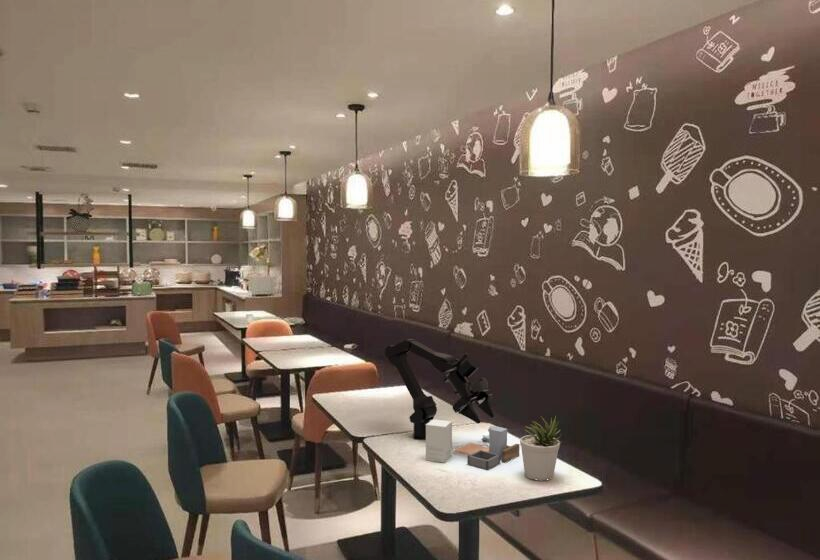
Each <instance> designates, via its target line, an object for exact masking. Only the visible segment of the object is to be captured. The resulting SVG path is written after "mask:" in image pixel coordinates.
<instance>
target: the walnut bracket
mask: <svg viewBox="0 0 820 560" xmlns="http://www.w3.org/2000/svg"><path fill="white" fill-rule="evenodd" d="M520 446H521V445H520V444H519V443H515V444H513V445H508V444H507V449H505V450H503V451H502V460H501V462H502V463H504V464H506V463H508V462H509V460H510V461H511V459H512V460H513V459H515V458H517V457H519V456H520ZM507 461H508V462H507ZM505 462H506V463H505Z"/></svg>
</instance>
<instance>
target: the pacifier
mask: <svg viewBox="0 0 820 560" xmlns="http://www.w3.org/2000/svg"><path fill="white" fill-rule="evenodd" d="M493 427H496V426H495V425H490V426H489V427H488V430H487V431H488V433H489V429H491V428H493ZM481 440H482V441H486V442H488V443H489V434H488V435H482V438H481Z"/></svg>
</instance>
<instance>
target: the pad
mask: <svg viewBox="0 0 820 560" xmlns="http://www.w3.org/2000/svg"><path fill="white" fill-rule="evenodd" d="M479 450H483V451H487V452H489V446H488V447H487V446H484V445H479V444H475V443H472V442H468V443H467V444H464V445H462V446H460V447H457V448H455V449H454V452H457V453H461V454H464V455H467V456H468V455H470V454H472V453H475V452H477V451H479Z"/></svg>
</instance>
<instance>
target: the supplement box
mask: <svg viewBox="0 0 820 560" xmlns="http://www.w3.org/2000/svg"><path fill="white" fill-rule="evenodd" d="M452 438H453V422H452V421H450V420H441V419H434V418H433V420H430V422H429V423H427V424H426V439H425V460H426V461H430V462H431V461H432V462H438V463H442V464H443V463H444V464H446V462H448V461H449V460H450V459H451V458H452V457H453V442H452V441H453V439H452Z"/></svg>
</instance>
